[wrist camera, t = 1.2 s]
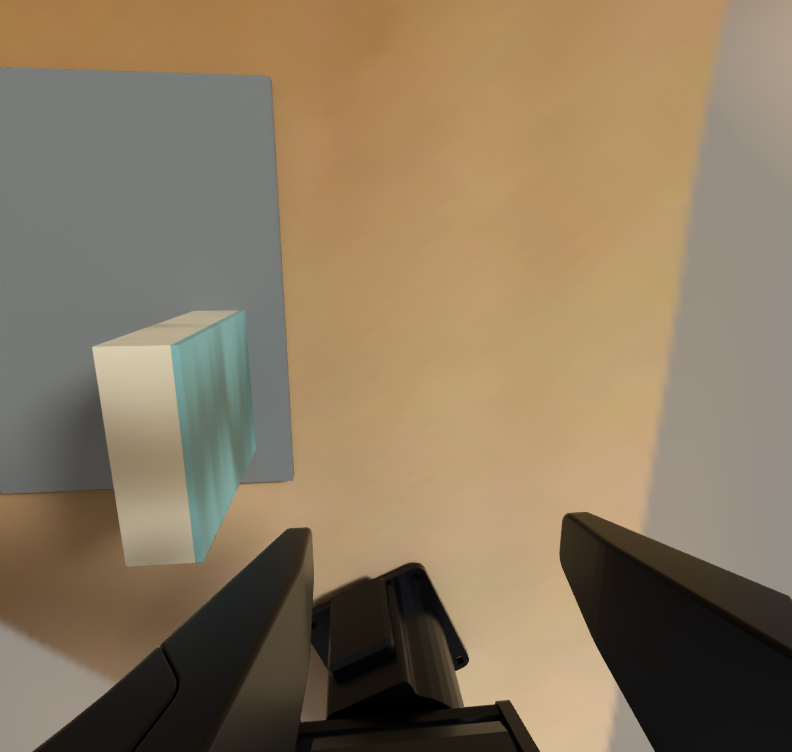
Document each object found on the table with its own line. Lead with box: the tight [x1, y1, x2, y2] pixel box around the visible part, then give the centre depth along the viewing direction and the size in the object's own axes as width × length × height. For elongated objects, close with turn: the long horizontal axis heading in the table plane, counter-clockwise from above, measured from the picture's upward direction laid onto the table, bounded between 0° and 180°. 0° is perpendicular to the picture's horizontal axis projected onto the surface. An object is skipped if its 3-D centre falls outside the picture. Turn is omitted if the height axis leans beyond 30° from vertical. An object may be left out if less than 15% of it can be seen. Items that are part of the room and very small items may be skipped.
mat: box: [0, 67, 294, 494], centre depth 19 cm, size 16×12×1 cm
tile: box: [92, 310, 256, 567], centre depth 16 cm, size 6×2×8 cm, turn 0°
